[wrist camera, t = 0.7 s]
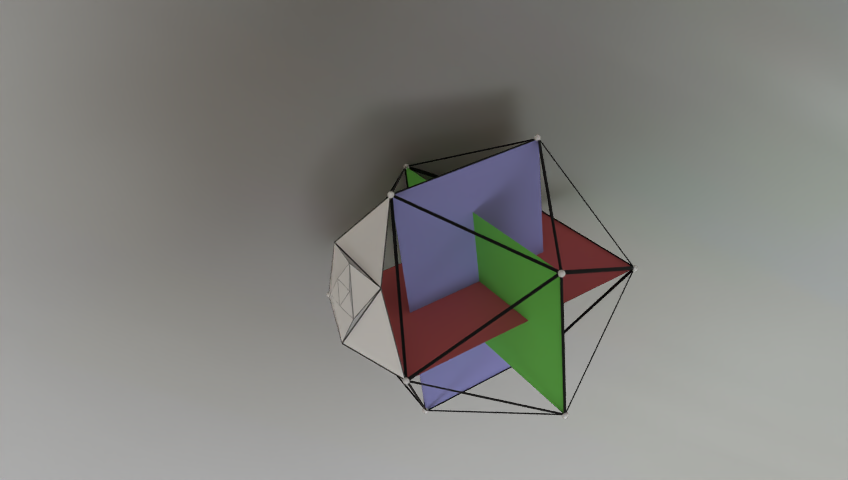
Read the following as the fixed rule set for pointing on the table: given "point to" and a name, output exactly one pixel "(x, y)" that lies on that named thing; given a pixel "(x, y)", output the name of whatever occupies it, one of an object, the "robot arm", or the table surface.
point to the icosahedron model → (468, 279)
